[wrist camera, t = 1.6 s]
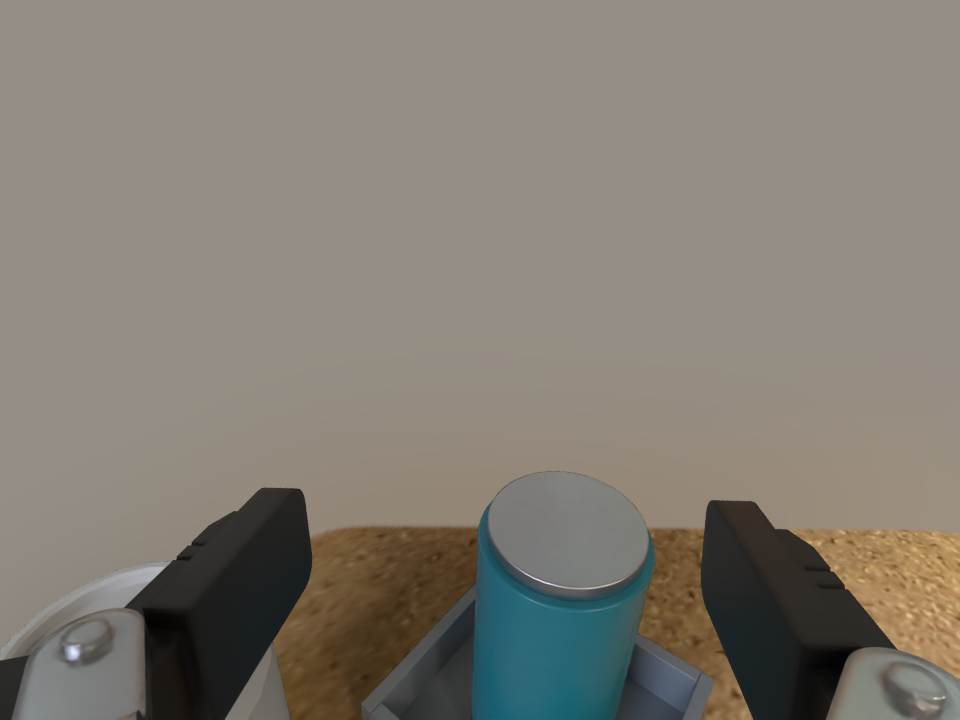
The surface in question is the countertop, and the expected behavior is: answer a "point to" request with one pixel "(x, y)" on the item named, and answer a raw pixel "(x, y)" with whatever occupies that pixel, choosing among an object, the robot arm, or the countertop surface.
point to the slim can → (557, 599)
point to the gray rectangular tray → (449, 664)
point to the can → (262, 700)
